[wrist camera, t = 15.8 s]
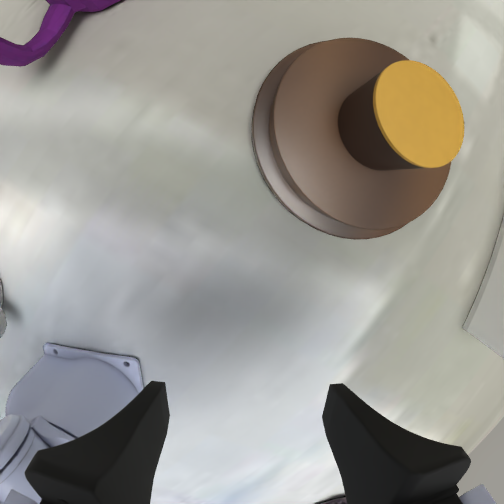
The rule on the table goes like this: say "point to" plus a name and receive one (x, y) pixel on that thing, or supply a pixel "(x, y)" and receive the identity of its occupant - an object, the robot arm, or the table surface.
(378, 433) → the robot arm
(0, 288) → the cup
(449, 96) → the coffee pod
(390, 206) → the pod stand
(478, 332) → the butter dish
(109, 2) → the mug
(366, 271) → the table surface
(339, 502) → the crystal cluster
